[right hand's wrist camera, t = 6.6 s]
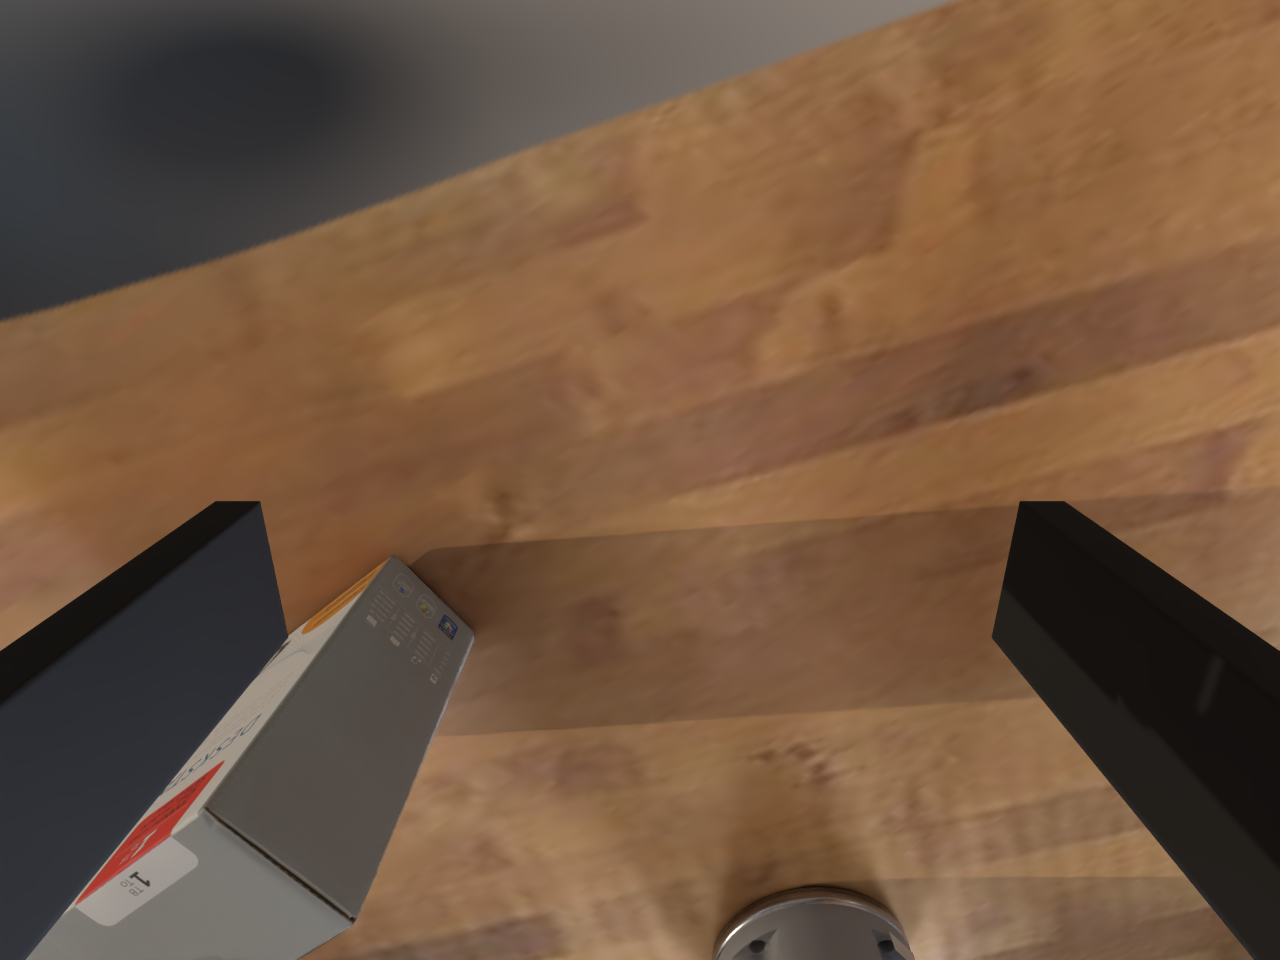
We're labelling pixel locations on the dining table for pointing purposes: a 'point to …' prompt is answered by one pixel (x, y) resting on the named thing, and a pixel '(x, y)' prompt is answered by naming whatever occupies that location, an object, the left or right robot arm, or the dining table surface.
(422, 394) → the dining table surface
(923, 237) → the dining table surface
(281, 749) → the hard drive box
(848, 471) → the dining table surface
